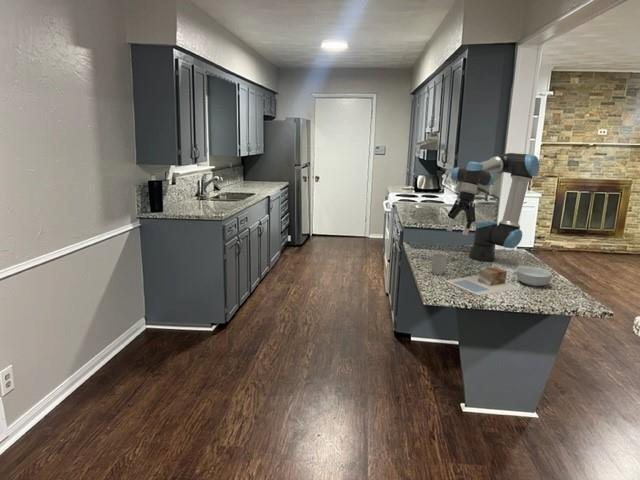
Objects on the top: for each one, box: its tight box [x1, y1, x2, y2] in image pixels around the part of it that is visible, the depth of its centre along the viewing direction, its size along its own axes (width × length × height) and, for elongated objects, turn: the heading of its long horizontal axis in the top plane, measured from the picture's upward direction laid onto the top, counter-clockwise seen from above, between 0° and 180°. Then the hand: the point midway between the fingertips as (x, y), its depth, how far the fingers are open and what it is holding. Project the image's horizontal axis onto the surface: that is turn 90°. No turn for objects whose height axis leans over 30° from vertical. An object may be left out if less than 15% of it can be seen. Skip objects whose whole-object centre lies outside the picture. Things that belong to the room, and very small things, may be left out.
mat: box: [443, 274, 520, 297], centre depth 225 cm, size 30×22×1 cm
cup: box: [431, 253, 449, 276], centre depth 238 cm, size 8×8×10 cm
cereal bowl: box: [515, 266, 553, 287], centre depth 230 cm, size 17×17×7 cm
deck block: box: [478, 266, 508, 286], centre depth 228 cm, size 12×7×6 cm, turn 120°
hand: (456, 232), depth 230 cm, fingers open, 13 cm apart
